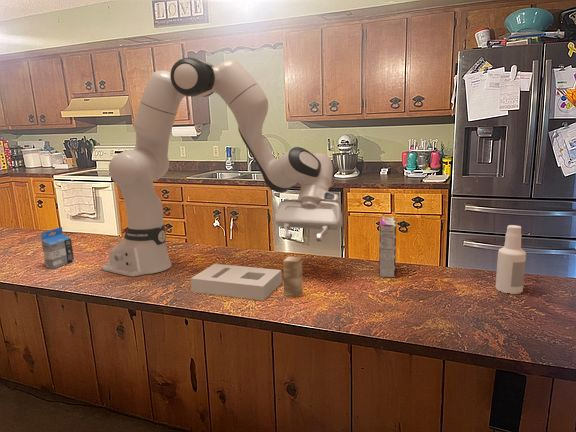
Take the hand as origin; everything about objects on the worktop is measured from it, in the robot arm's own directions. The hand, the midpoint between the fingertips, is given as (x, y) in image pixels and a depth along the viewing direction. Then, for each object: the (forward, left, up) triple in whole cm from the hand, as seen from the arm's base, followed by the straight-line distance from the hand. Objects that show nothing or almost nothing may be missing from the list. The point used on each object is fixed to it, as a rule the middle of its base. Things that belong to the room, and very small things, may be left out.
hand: (303, 239), depth 130 cm
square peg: (0, -9, -13) cm, 16 cm away
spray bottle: (+56, +11, -13) cm, 58 cm away
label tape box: (-85, -7, -13) cm, 86 cm away
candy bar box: (+22, +17, -13) cm, 31 cm away
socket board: (-17, -9, -13) cm, 23 cm away
